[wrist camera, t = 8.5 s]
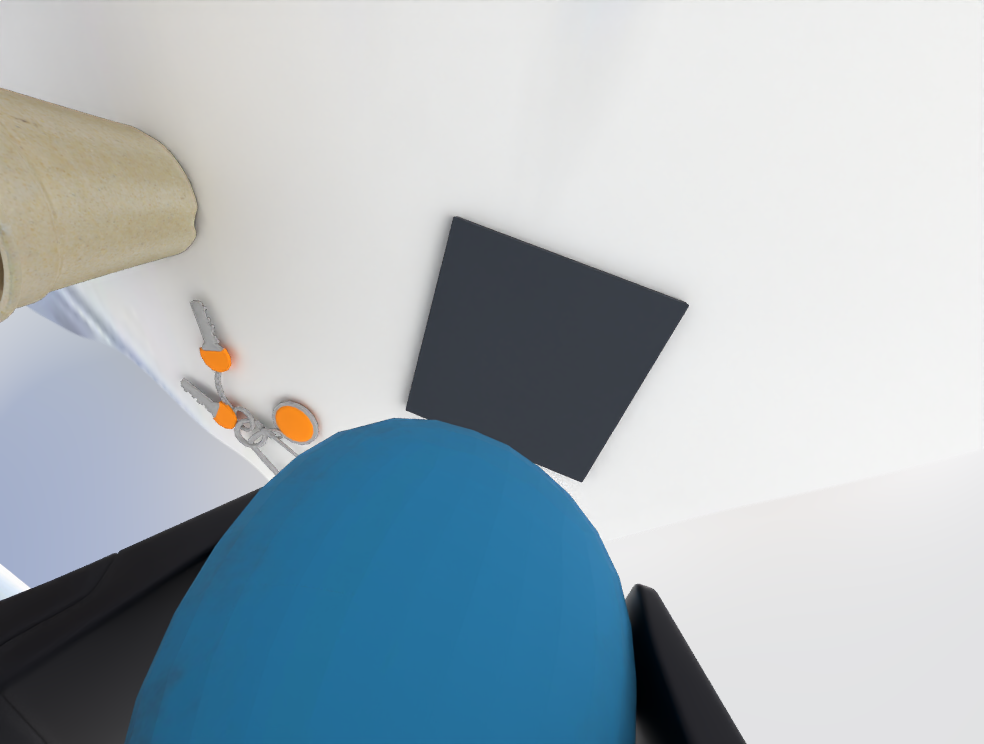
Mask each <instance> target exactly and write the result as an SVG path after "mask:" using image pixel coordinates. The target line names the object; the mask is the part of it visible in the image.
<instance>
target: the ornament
mask: <svg viewBox="0 0 984 744" xmlns="http://www.w3.org/2000/svg"><path fill="white" fill-rule="evenodd" d="M636 703H637V685H636V670H635V660H634V649H633V638H632V628H631V623H630V619H629V614H628V610H627V606H626V602H625V598H624V595H623V591H622V586H621V582H620V578H619V576H618V574H617V572H616V569H615V568H614V565H613V563H612V561H611V559H610V557H609V555H608V553H607V551H606V549H605V547H604V544H603V542H602V540H601V538H600V536H599V534H598V532H597V530H596V529H595V528H594V526H593V525H592V524H591V522H590V521H589V520H588V518H587V517H586V516H585V514H584V513H583V512H582V510H581V509H580V508H579V506H578V505H577V504H576V502H575V501H574V500H573V498H572V497H571V496H570V494H569V493H567V492H566V491H565V490H564V489H563V488H562V487H561V486H560V485H559V484H557V483H556V482H555V481H554V480H553V479H552V478H551V477H550V476H549V475H548V474H546V473H545V472H544V471H543V470H542V469H541V468H540V467H539V466H537V465H536V464H534V463H533V462H531V461H530V460H528V459H527V458H526V457H524V456H523V455H521V454H520V453H518V452H517V451H515V450H514V449H513V448H511V447H510V446H508V445H506V444H504V443H502V442H499V441H497V440H495V439H492V438H490V437H488V436H485V435H483V434H481V433H479V432H476V431H474V430H471V429H467V428H463V427H460V426H456V425H452V424H449V423H445V422H441V421H438V420H425V419H402V418H392V419H388V420H384V421H380V422H377V423H373V424H369V425H365V426H361V427H357V428H354V429H349V430H345V431H341V432H338V433H336V434H334V435H332V436H331V437H329V438H327V439H326V440H324V441H322V442H320V443H319V444H317V445H315V446H314V447H312V448H310V449H309V450H307V451H305V452H303V453H302V454H300V455H298V456H297V457H296V458H295V459H294V460H292V461H291V462H290V463H289V464H288V465H287V466H286V467H285V468H284V469H282V470H281V471H280V472H279V473H278V474H277V475H276V476H275V477H274V478H273V479H271V480H270V481H269V482H268V483H267V484H266V485H265V486H264V487H263V488H261V489H260V490H259V492H258V493H257V494H256V495H255V497H254V498H253V499H252V500H251V501H250V503H249V504H248V505H247V506H246V508H245V509H244V510H243V511H242V513H241V514H240V515H239V516H238V518H237V519H236V520H235V521H234V523H233V524H232V525H231V526H230V528H229V529H228V530H227V531H226V532H225V534H224V535H223V536H222V538H221V539H220V540H219V542H218V543H217V545H216V546H215V547H214V549H213V551H212V552H211V554H210V555H209V557H208V559H207V560H206V562H205V564H204V565H203V567H202V568H201V570H200V572H199V573H198V575H197V577H196V578H195V580H194V581H193V583H192V585H191V586H190V588H189V590H188V591H187V593H186V595H185V596H184V598H183V599H182V601H181V603H180V604H179V606H178V608H177V609H176V611H175V613H174V615H173V617H172V620H171V622H170V624H169V626H168V628H167V631H166V633H165V635H164V637H163V640H162V642H161V644H160V646H159V648H158V651H157V653H156V655H155V657H154V659H153V662H152V664H151V666H150V668H149V671H148V673H147V675H146V677H145V679H144V682H143V684H142V686H141V688H140V691H139V693H138V695H137V697H136V701H135V705H134V709H133V712H132V716H131V720H130V724H129V727H128V731H127V735H126V739H125V742H124V744H635V742H636Z"/></svg>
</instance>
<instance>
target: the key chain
mask: <svg viewBox="0 0 984 744" xmlns="http://www.w3.org/2000/svg"><path fill="white" fill-rule="evenodd" d="M190 304H191V307H192V309H193V312H194V315H195V318H196V320H197V323H198V326H199V328H200V331H201V334H202V337H203V339H204V344H203V346H202V347H201V348H200V354H201V357H202V359H203V360H204V362H205V364H206V365H207V366H209V367H210V368H211V369H212V370H214V371H216V372H215V385H216V389H217V391H218V394H219V396H220V398H221V400H222V401H220V402H214V401H212V400H211V399H210V398H209V397H207V396H206V395H205V394H204V393H202V392H201V391H200V390H199V389H197V388H196V387H195V386H194V385H193V384H191V383H190V382H189V381H188V380H186V379H185V378H184V379H183V380H182V381H181V387H183V388H184V391H185V392H189V393H190V394H191V395H192V397H193V398H196V399H197V402H198V403H199V404H202V405H203V404H204V405H205V408H207V410H208V411H209V412H211V413H212V415H213V417H214V418H213V419H214V420H215V421H216V422H217V423H218V424H219V425H220V426H222V427H224V428H226V429H232V428H234V427H235V428H234V432H235V436H236V438H237V439H238V441H239V442H240V443H242V444H243V445H244V446H247V447H250V448H252V450H253V451H254V452H255V453H256V454H257V455H258V457H259V458H260V459H261V460H262V461H263V462H264V463H265V465H266V466H267V467H268V468H269V469H270V470H271V471H272V472H273V473H274V474H275V476H276V475H277V474H278V473H279V471H278V470H277V469H276V468H275V467H274V465H273V464H272V463H271V462H270V461H269V460H268V459H267V458H266V456H265V455H264V454H263V453H262V452H261V451H260V450H259V448H258V447H261V446H263V445H264V444H265V443H266V441H267V438H268V436H269V437H270V438H273V439H274V440H275V441H277V442H278V443H279V444H280V445H282V446H283V447H284V448H285V449H287V450H288V451H289V452H290V453H292V454H293V455H294V456H295V457H297V456H298V454H296V453H295V452H294V451H293V450H292V449H290V448H289V447H288V446H287V445H286V444H284V443H283V442H282V441H281V440H280V439H281V438H283V437H284V438H286V439H287V440H289V441H291V442H293V443H296V444H300V445H305V444H310V443H311V442H312V441H314V440H315V439H316V438H317V435H318V432H319V430H318V423H317V421H316V419H315V418H314V416H313V415H312V413H311V412H310V411H309V410H308V409H307V408H305V407H304V406H302V405H300V404H299V403H295V402H291V401H286V402H281V403H280V404H278V405H277V406H276V407H275V408H274V410H273V414H272V417H273V423H274V425H275V427H276V428H277V429H266V428H265V427H264V425H263V424H262V423H261V422H259V421H258V420H255V419H254V417H253V416H252V414H251V413H250V412H249V411H248V410H246V409H245V408H243V407H235V408H234V407H233V406H232V405H231V403H230V402H229V401H228V399H227V398H226V396H225V395H224V392H223V390H222V386H221V382H220V377H221V376H220V375H221V372H224V371H227V370H229V368H230V366H231V358H230V355H229V353H228V352H227V350H226V349H224V348H222V347H221V346H220V345H219V344H218V343H220V342H219V339H217V337H216V335H213V332H214V325H210V324H209V321H211V320H210V317H207V315H206V312H205V310H207V309H206V306H203V304H202V302H200V301H198V300H193V301H191V302H190ZM237 411H241V412H243V413H244V414H245V415H246V416H247V417H248V418H244V419H241V420H238V417H237ZM248 422H249V423H251V427H250V428H247V427H245V426H244V425H243V424H244V423H248ZM255 425H256V426H257V427H259V429H260V431H258V432H256V433H255V434H253V435H252V436H251V437H250V438H249V439H248V441H246V440H245V439H244V438H243V437H242V435H241V434H240V429H241V430H244V431H246V432H248V431H253V430H254V428H255ZM272 431H275V432H278V433H280V434H281V435H282V436H275V435H276V434H274V433H273V432H272ZM260 436H263V438H262V440H261V441H260V442H259V443H254V441H255V440H256V439H257V438H259V437H260Z"/></svg>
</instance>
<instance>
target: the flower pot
mask: <svg viewBox="0 0 984 744" xmlns="http://www.w3.org/2000/svg"><path fill="white" fill-rule="evenodd" d="M197 208H198V207H197V202H196V198H195V195H194V192H193V189H192V187H191V184H190V182H189V180H188V178H187V176H186V174H185V172H184V171H183V169H182V167H181V166H180V164H179V163H178V162H177V160H176V159H175V157H174V156H173V155H172V154H171V153H170V151H169V150H168V149H167V148H166V147H165V146H164V145H163V144H161V143H160V142H159V141H157V140H156V139H154V138H152V137H151V136H149V135H147V134H145V133H144V132H142V131H140V130H138V129H136V128H135V127H132V126H129V125H126V124H121V123H118V122H114V121H111V120H107V119H104V118H100V117H97V116H93V115H90V114H87V113H83V112H80V111H76V110H73V109H70V108H66V107H63V106H60V105H56V104H53V103H49V102H46V101H43V100H39V99H36V98H33V97H29V96H26V95H23V94H20V93H16V92H13V91H10V90H6V89H3V88H0V322H2V321H4V320H5V319H7V318H8V317H9V316H10V315H11V314H12V313H13V312H14V310H15V309H16V308H19V307H23V306H26V305H29V304H32V303H35V302H37V301H39V300H41V299H42V298H44V297H45V296H46V295H47V294H48V293H49V292H51V291H55V290H58V289H61V288H64V287H68V286H71V285H74V284H77V283H80V282H84V281H87V280H90V279H94V278H97V277H100V276H104V275H107V274H110V273H114V272H117V271H121V270H124V269H127V268H131V267H134V266H138V265H141V264H145V263H148V262H152V261H155V260H159V259H162V258H165V257H169V256H174V255H177V254H180V253H182V252H183V251H185V250H186V249H187V248H188V247H189V246H190V245H191V244H192V242H193V241H194V239H195V237H196V230H195V227H194V220H195V215H196V211H197Z"/></svg>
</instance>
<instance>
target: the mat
mask: <svg viewBox="0 0 984 744" xmlns="http://www.w3.org/2000/svg"><path fill="white" fill-rule="evenodd" d="M688 307H689V305H688V304H687V303H686V302H683V301H681V300H678V299H675V298H673V297H670V296H667V295H665V294H662V293H660V292H657V291H654V290H652V289H649V288H646V287H644V286H641V285H638V284H636V283H633V282H630V281H628V280H625V279H622V278H620V277H617V276H614V275H612V274H609V273H606V272H604V271H601V270H598V269H596V268H593V267H590V266H588V265H585V264H582V263H580V262H577V261H574V260H572V259H569V258H566V257H564V256H561V255H558V254H556V253H553V252H550V251H548V250H545V249H542V248H540V247H537V246H534V245H532V244H529V243H526V242H524V241H521V240H518V239H516V238H513V237H510V236H508V235H505V234H502V233H500V232H497V231H494V230H492V229H489V228H486V227H484V226H481V225H478V224H476V223H473V222H471V221H468V220H465V219H463V218H460V217H454V218H453V221H452V225H451V229H450V233H449V237H448V241H447V245H446V249H445V253H444V257H443V261H442V265H441V269H440V274H439V278H438V282H437V286H436V290H435V294H434V298H433V302H432V306H431V310H430V314H429V318H428V322H427V326H426V330H425V334H424V338H423V342H422V346H421V350H420V354H419V358H418V362H417V366H416V370H415V374H414V378H413V382H412V386H411V390H410V394H409V398H408V402H407V406H406V411H409V412H411V413H414V414H416V415H419V416H421V417H423V418H426V419H428V420H438V421H441V422H445V423H449V424H452V425H456V426H460V427H463V428H467V429H471V430H474V431H476V432H479V433H481V434H483V435H485V436H488V437H490V438H492V439H495V440H497V441H499V442H502V443H504V444H506V445H508V446H510V447H511V448H513V449H514V450H515V451H517V452H518V453H520V454H521V455H523V456H524V457H526V458H527V459H528V460H530V461H531V462H533V463H535V464H538V465H540V466H543V467H545V468H548V469H550V470H552V471H555V472H557V473H560V474H562V475H565V476H567V477H570V478H572V479H574V480H577V481H579V482H583V480H584V479H585V477H586V475H587V474H588V472H589V470H590V469H591V467H592V465H593V464H594V462H595V460H596V459H597V457H598V455H599V454H600V452H601V450H602V449H603V447H604V445H605V444H606V442H607V441H608V439H609V437H610V436H611V434H612V432H613V431H614V429H615V427H616V426H617V424H618V422H619V421H620V419H621V417H622V416H623V414H624V412H625V411H626V409H627V407H628V406H629V404H630V403H631V401H632V399H633V398H634V396H635V394H636V393H637V391H638V389H639V388H640V386H641V384H642V383H643V381H644V379H645V378H646V376H647V374H648V373H649V371H650V369H651V368H652V366H653V365H654V363H655V361H656V360H657V358H658V356H659V355H660V353H661V351H662V350H663V348H664V346H665V345H666V343H667V341H668V340H669V338H670V336H671V335H672V333H673V331H674V330H675V328H676V327H677V325H678V323H679V322H680V320H681V318H682V317H683V315H684V313H685V312H686V310H687V308H688Z"/></svg>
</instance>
